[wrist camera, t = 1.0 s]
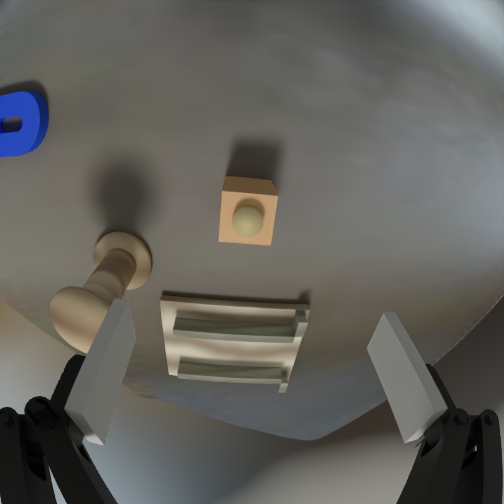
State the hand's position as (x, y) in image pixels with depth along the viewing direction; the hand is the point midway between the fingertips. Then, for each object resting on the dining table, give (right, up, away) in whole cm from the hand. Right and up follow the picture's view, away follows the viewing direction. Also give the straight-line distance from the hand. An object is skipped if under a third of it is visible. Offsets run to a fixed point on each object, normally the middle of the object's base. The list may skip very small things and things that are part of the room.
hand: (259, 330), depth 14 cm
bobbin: (-17, +3, +21) cm, 27 cm away
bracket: (-34, +21, +11) cm, 41 cm away
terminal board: (-3, -10, +28) cm, 30 cm away
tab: (-1, +10, +18) cm, 21 cm away
